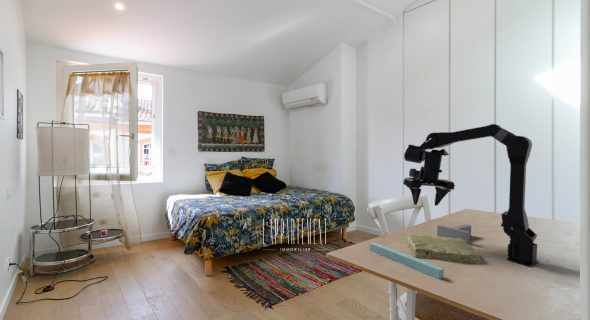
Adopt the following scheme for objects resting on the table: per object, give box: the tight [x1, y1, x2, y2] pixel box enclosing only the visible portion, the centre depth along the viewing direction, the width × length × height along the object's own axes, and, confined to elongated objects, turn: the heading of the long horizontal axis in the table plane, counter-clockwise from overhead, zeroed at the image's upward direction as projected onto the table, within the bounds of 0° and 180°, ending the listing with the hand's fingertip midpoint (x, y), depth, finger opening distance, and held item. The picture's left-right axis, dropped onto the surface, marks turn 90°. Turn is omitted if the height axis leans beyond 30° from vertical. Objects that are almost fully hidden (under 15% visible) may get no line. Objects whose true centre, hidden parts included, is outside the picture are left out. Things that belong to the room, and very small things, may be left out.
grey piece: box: [436, 223, 472, 245], centre depth 118 cm, size 12×12×4 cm
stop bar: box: [369, 241, 445, 280], centre depth 93 cm, size 26×2×2 cm, turn 31°
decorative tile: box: [404, 234, 482, 264], centre depth 103 cm, size 19×20×4 cm
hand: (425, 205), depth 115 cm, fingers open, 9 cm apart
